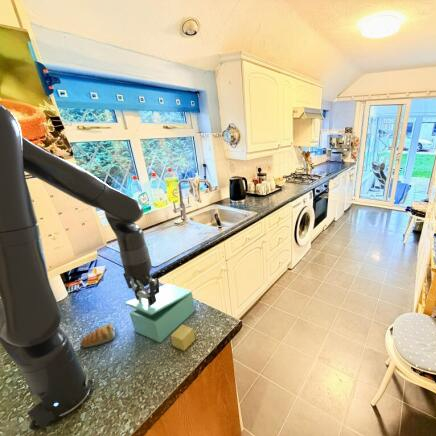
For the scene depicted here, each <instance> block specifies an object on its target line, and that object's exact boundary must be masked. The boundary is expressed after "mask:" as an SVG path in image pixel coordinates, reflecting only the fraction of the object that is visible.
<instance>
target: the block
mask: <svg viewBox="0 0 436 436" xmlns="http://www.w3.org/2000/svg"><path fill="white" fill-rule="evenodd" d="M170 338H171V342H172V347H174V348H177V349H179V350H181V351H183V352H185V351H186V350H187V349H188V348H189V347H190V346H191V345H192V343H194V342H195V340H196V336H195V331H194V328H192V327H190V326H187V325H185V324H180V325H179V326H178V327H177V328H176V329H175V330H174V331H173V332H171V333H170Z"/></svg>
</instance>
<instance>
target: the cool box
mask: <svg viewBox="0 0 436 436" xmlns="http://www.w3.org/2000/svg"><path fill="white" fill-rule="evenodd" d="M195 311H196V308H195V303H194V297H193V292H192V293H191V294H189V295H187V296H185V297H184V298H182V299H180V300H178V301H176V302H174V303H173V304H171V305H169V306H167V307H165V308H163V309H162V310H160V311H158V312H156V313H154V314H152V315H150V314H147V313H145V312H143V311H140V310H138V309H135V308H133V309H132V310H130V312H129V316H130V320H131V322H132V326H133V329H134V332H136V333H138V334H140V335H142V336H144V337H147V338H148V339H151V340H153V341H155V342H158V343H161V342H163V341H164V340H165V339H166V338H167V337H168V336H169V335H171V334H172V333H173V332H174V331H175V330H177V329H178V328H179V327H180V326H181V325H182V323H184V322H185V321H186V320H187V319H188V318H189V317H190V316H191V315H192V314H193V313H195Z"/></svg>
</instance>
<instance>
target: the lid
mask: <svg viewBox="0 0 436 436" xmlns="http://www.w3.org/2000/svg"><path fill="white" fill-rule="evenodd" d="M191 293H192V294H193V292H192V290H190V289H186V288H183V287H180V286H177V285H174V284H171V283H166V284H164V285H162V286H159V293H157V294H156V295H155V297H156V302H155V303H154V304H153V305H149V302H148V298H147V294H146V293H145V291H138V292H137V296H139V300H136V297H135V298H132V299H129V300H128V301H125V303H124V304H125V306H128V307H130V308H133V309H138V310H140V311H143V312H145V313H147V314H150V315H152V314H154V313H156V312H158V311H160V310H162V309H163V308H165V307H167V306H169V305H171V304H173V303H174V302H176V301H178V300H180V299H182V298H184V297H185V296H187V295H189V294H191Z"/></svg>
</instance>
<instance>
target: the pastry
mask: <svg viewBox="0 0 436 436" xmlns="http://www.w3.org/2000/svg"><path fill="white" fill-rule="evenodd" d="M115 330H116V329H115V326H114V325H113V324H112V323H109V324H107V325H103V326H100V327H98V328H97V329H95V330H93V331H92V332H90V333H88V334H87V335H85V336H84V337H82V339H81V341H80V346H82V347H83V348H90V347H95V346H98V345H99V346H100V345H102V344H105V343H107V342H110V341H112V340H114V339H115V337H116V332H115Z"/></svg>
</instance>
